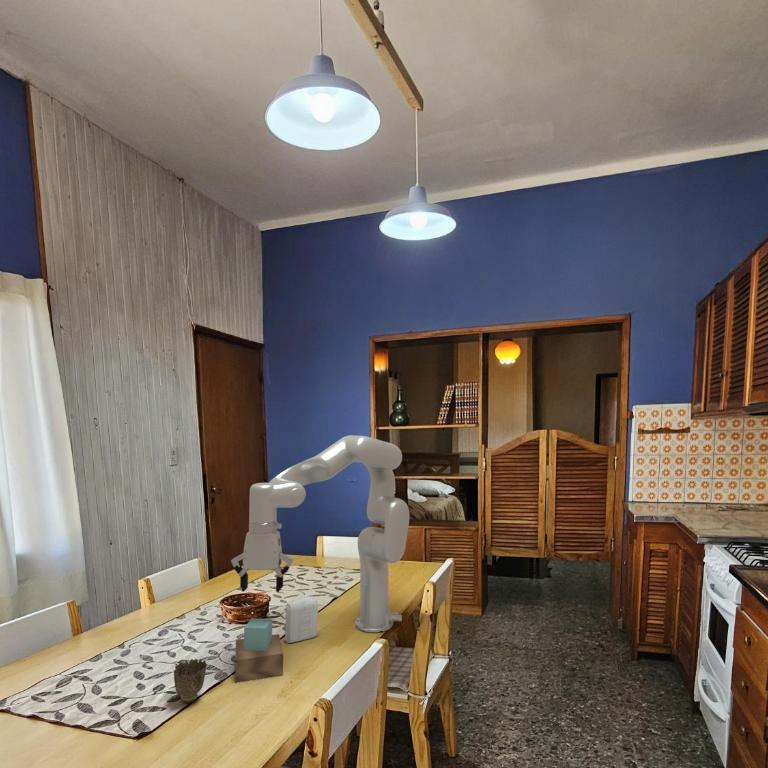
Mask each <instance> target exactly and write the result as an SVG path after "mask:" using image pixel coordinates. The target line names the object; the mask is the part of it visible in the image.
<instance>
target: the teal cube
mask: <svg viewBox="0 0 768 768" xmlns="http://www.w3.org/2000/svg"><path fill="white" fill-rule="evenodd" d="M272 635H273V618H251V619H249V621H248V623H247V624H246V625H245V626H244V627H243V639H244V651H266V650H267V648H268V646H269V645H270V643H271V642H272Z"/></svg>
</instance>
